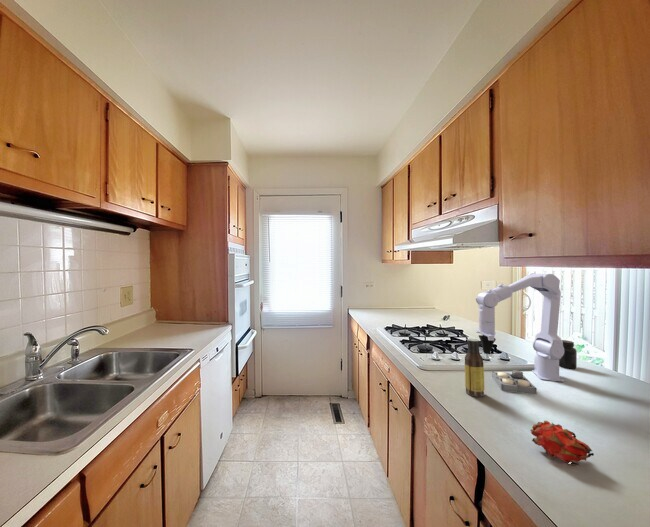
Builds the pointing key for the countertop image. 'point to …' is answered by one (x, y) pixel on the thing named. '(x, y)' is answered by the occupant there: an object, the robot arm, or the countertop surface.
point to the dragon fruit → (560, 442)
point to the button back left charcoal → (517, 374)
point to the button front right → (507, 381)
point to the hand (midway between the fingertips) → (486, 353)
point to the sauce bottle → (474, 369)
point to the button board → (514, 384)
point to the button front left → (523, 383)
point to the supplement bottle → (568, 356)
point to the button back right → (502, 374)
